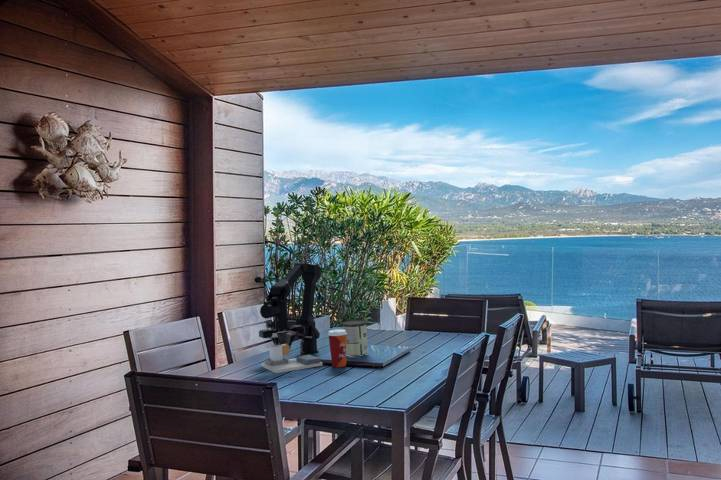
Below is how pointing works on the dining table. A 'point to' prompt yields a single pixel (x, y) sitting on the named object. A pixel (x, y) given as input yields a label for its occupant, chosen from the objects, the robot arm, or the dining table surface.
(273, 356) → the block
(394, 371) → the dining table surface
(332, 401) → the dining table surface
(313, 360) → the grey piece
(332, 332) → the paper cup
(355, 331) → the coffee can
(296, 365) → the board
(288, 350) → the cable plug
